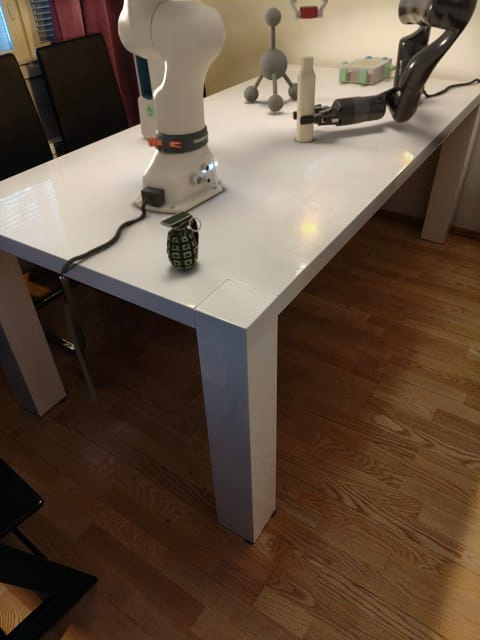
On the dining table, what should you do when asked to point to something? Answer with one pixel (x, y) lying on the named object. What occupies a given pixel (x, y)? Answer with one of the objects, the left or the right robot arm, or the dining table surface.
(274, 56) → the molecular model
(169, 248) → the grenade
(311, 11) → the cap
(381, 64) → the decorative block
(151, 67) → the electronic device
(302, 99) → the bottle
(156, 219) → the dining table surface
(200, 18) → the left robot arm
